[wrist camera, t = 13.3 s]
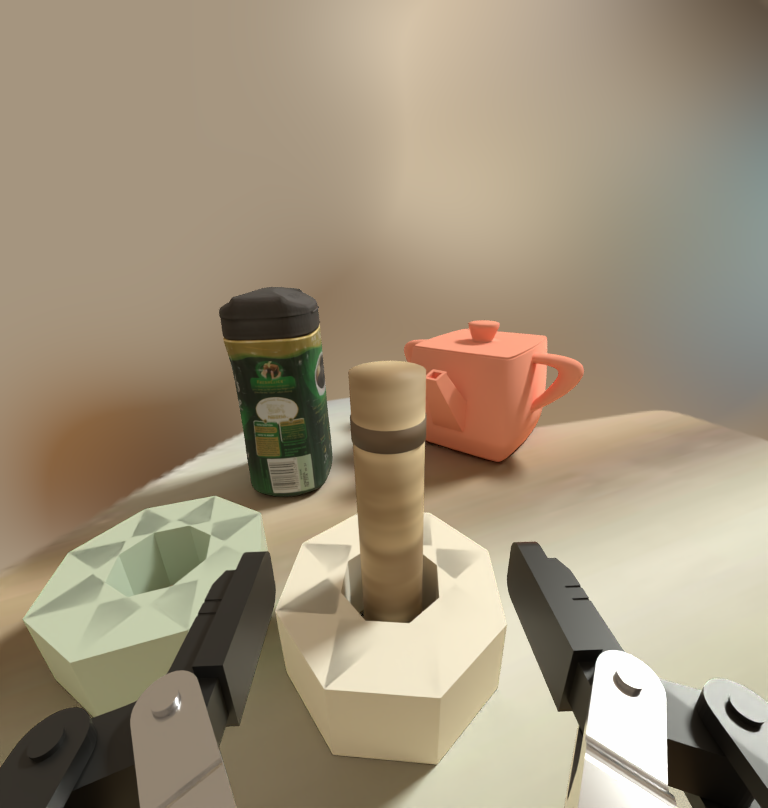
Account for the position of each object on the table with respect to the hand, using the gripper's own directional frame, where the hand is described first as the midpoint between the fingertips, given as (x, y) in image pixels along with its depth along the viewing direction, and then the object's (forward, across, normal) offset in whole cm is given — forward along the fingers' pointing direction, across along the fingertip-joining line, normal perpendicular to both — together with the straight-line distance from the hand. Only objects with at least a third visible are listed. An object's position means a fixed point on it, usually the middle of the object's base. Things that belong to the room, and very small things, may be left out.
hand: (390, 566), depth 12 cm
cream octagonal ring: (+5, 0, +11) cm, 12 cm away
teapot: (+30, -11, +11) cm, 34 cm away
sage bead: (+8, +13, +11) cm, 19 cm away
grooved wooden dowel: (+5, 0, +11) cm, 12 cm away
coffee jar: (+24, +9, +11) cm, 27 cm away
